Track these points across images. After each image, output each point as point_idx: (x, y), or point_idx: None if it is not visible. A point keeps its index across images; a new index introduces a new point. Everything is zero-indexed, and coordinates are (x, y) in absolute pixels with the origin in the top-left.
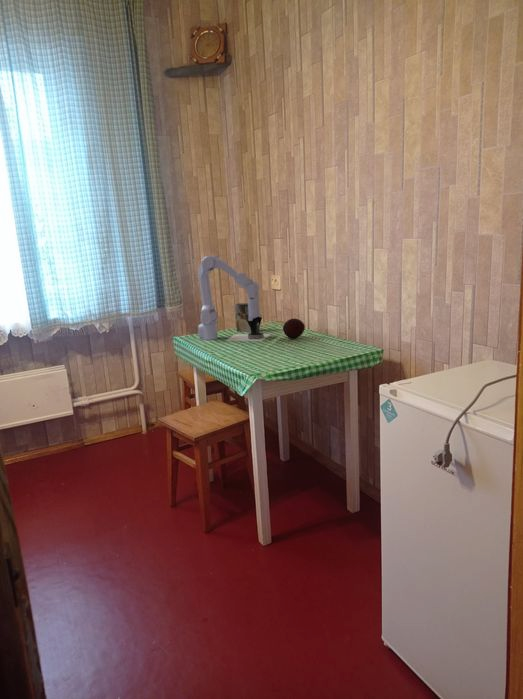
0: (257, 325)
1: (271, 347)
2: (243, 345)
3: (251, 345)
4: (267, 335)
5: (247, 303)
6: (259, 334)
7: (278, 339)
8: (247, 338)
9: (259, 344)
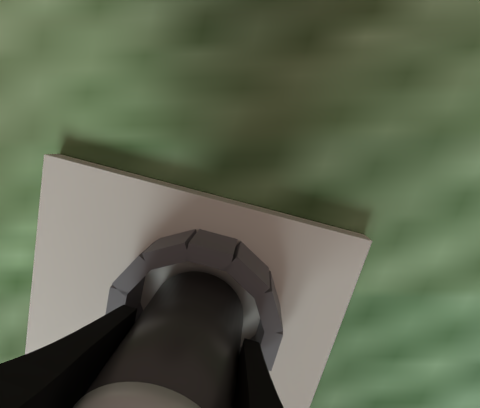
0: (200, 402)
1: None
2: (422, 395)
3: (451, 332)
4: (107, 189)
5: None
6: (207, 285)
7: (247, 64)
8: None
9: (436, 261)
